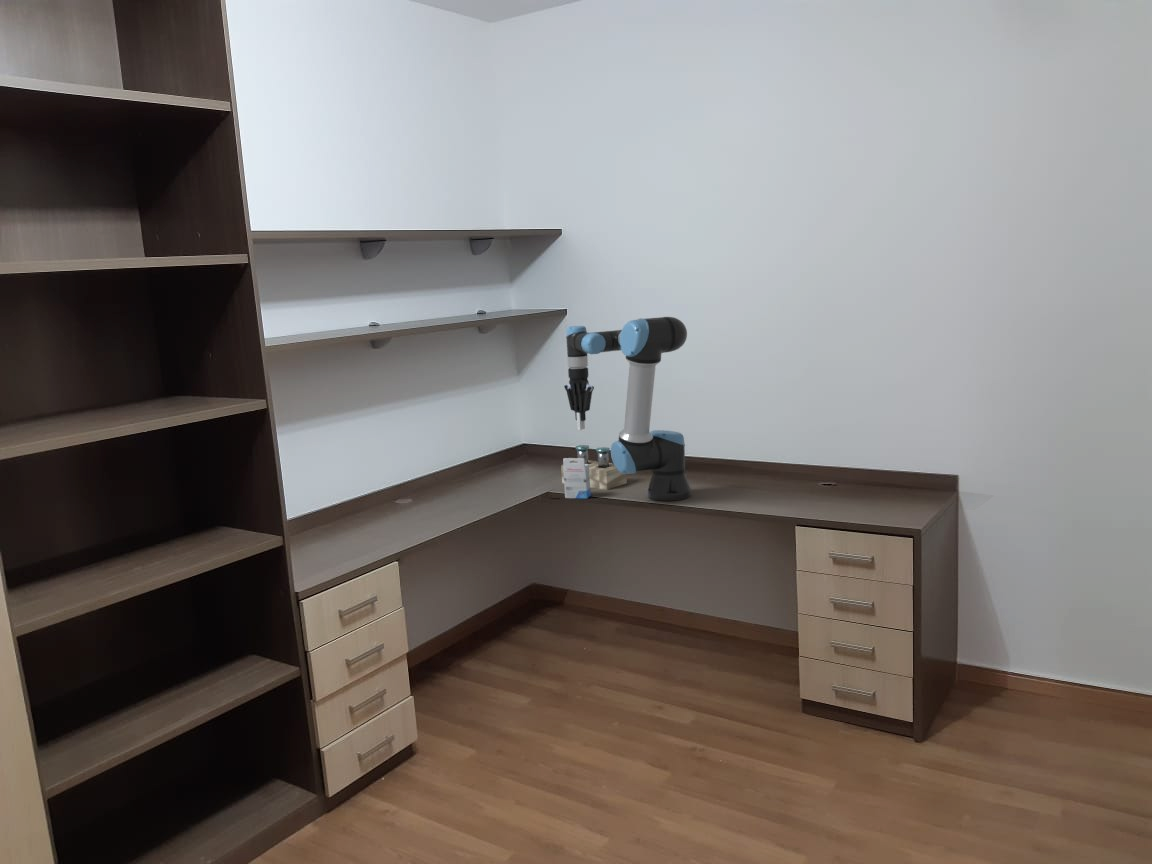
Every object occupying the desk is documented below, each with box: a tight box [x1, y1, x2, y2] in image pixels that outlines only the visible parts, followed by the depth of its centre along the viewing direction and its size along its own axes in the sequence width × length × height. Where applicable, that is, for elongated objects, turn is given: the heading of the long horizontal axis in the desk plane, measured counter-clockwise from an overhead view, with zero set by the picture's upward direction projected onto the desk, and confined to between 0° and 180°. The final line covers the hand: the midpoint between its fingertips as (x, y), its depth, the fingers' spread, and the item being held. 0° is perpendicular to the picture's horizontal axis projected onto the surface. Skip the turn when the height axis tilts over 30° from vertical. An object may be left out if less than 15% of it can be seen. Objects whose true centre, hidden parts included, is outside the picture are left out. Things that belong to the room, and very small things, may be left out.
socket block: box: [560, 459, 628, 491], centre depth 345 cm, size 22×12×7 cm, turn 49°
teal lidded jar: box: [575, 444, 590, 464], centre depth 347 cm, size 5×5×8 cm
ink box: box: [562, 457, 592, 500], centre depth 325 cm, size 9×5×15 cm, turn 71°
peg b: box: [595, 446, 611, 468], centre depth 340 cm, size 5×5×8 cm
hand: (581, 429), depth 345 cm, fingers closed
